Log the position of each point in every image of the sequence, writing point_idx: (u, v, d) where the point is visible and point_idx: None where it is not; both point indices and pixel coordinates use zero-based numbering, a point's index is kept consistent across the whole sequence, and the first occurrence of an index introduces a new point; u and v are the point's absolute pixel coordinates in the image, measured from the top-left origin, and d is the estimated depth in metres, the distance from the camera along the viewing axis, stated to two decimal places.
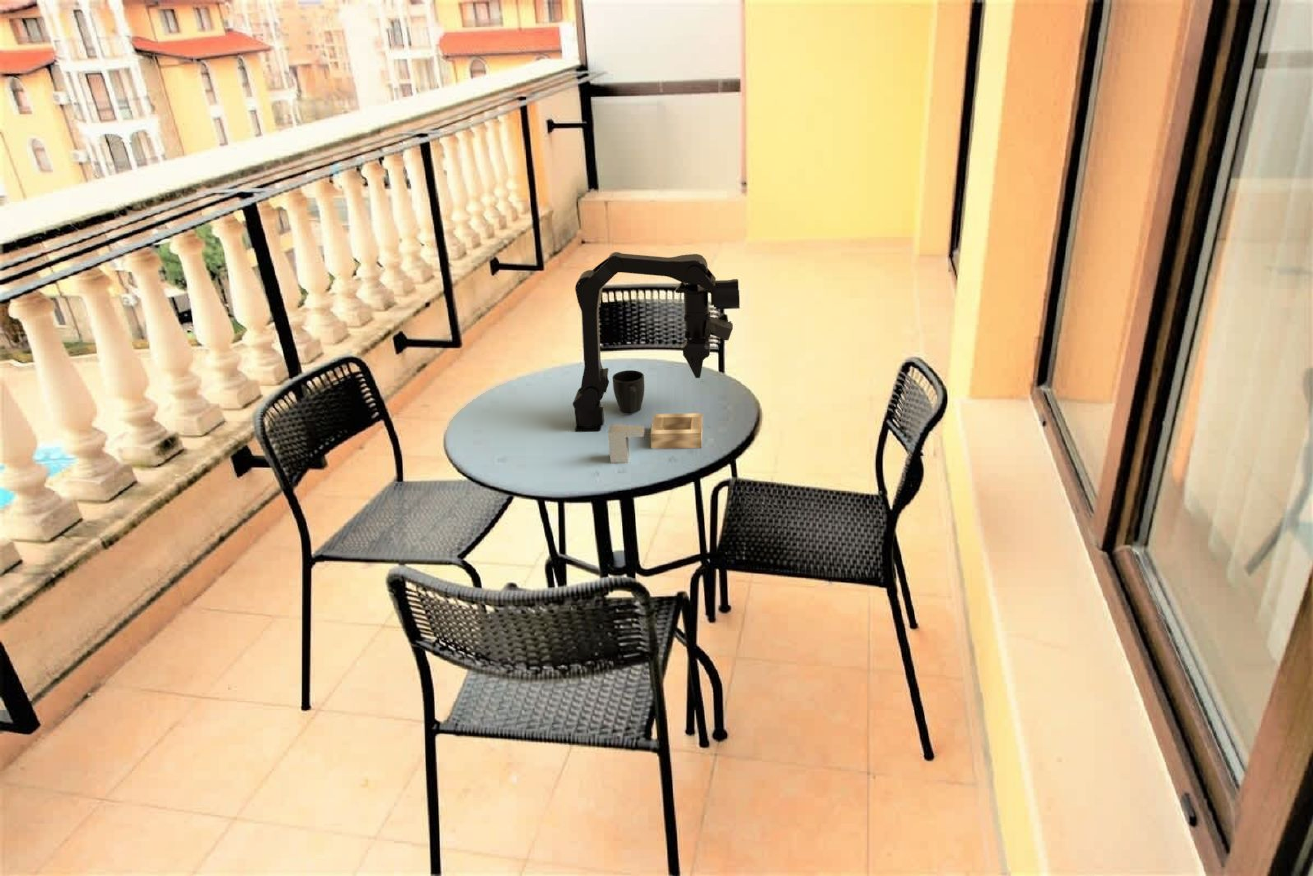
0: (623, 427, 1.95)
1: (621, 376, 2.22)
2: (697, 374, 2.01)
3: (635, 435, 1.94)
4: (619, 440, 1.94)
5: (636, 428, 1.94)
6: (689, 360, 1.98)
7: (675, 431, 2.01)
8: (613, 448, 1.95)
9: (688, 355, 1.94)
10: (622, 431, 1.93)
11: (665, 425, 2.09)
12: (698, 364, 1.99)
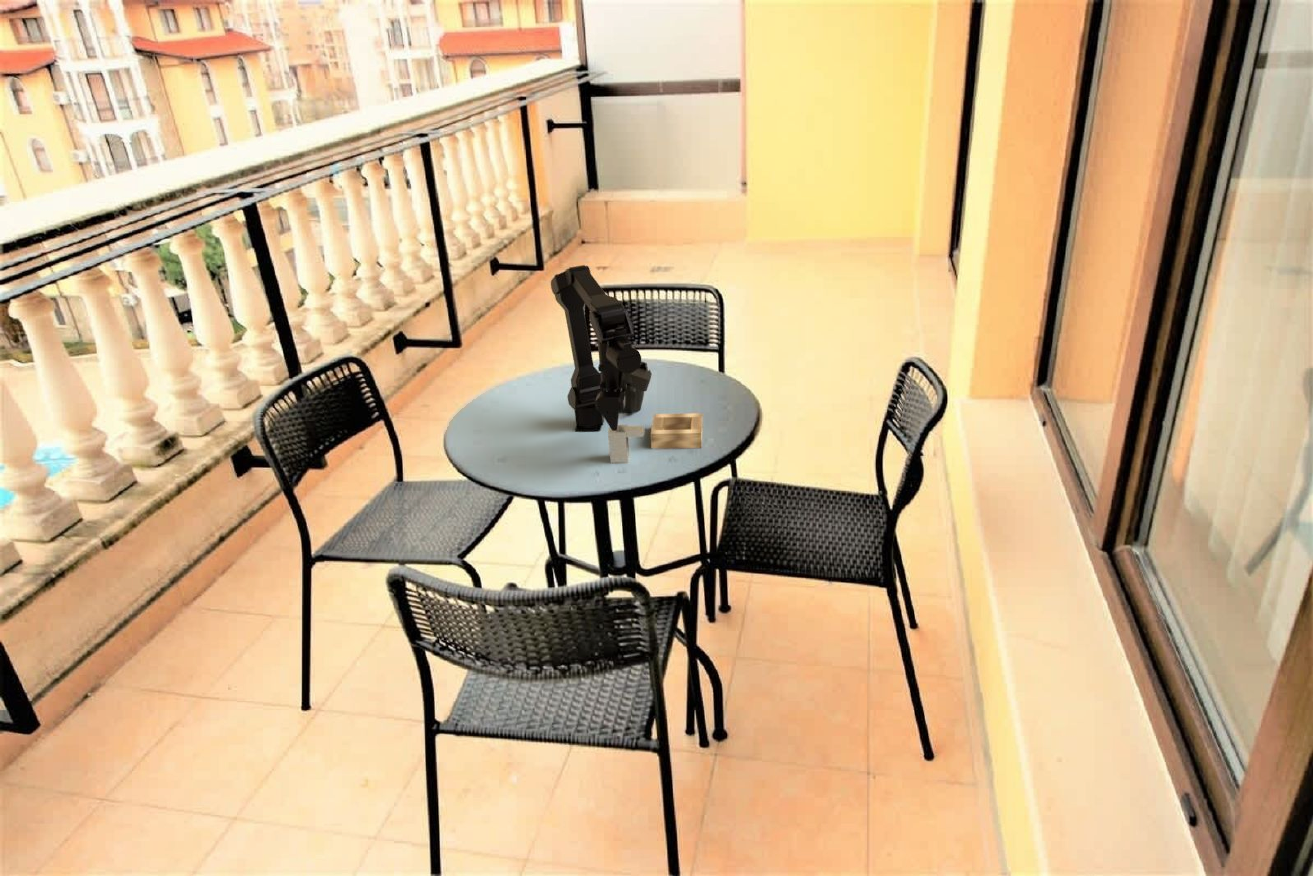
0: (623, 427, 1.95)
1: None
2: (613, 427, 1.89)
3: (635, 435, 1.94)
4: (619, 440, 1.94)
5: (636, 428, 1.94)
6: (604, 413, 1.86)
7: (675, 431, 2.01)
8: (613, 448, 1.95)
9: (601, 408, 1.82)
10: (622, 431, 1.93)
11: (665, 425, 2.09)
12: (614, 417, 1.87)
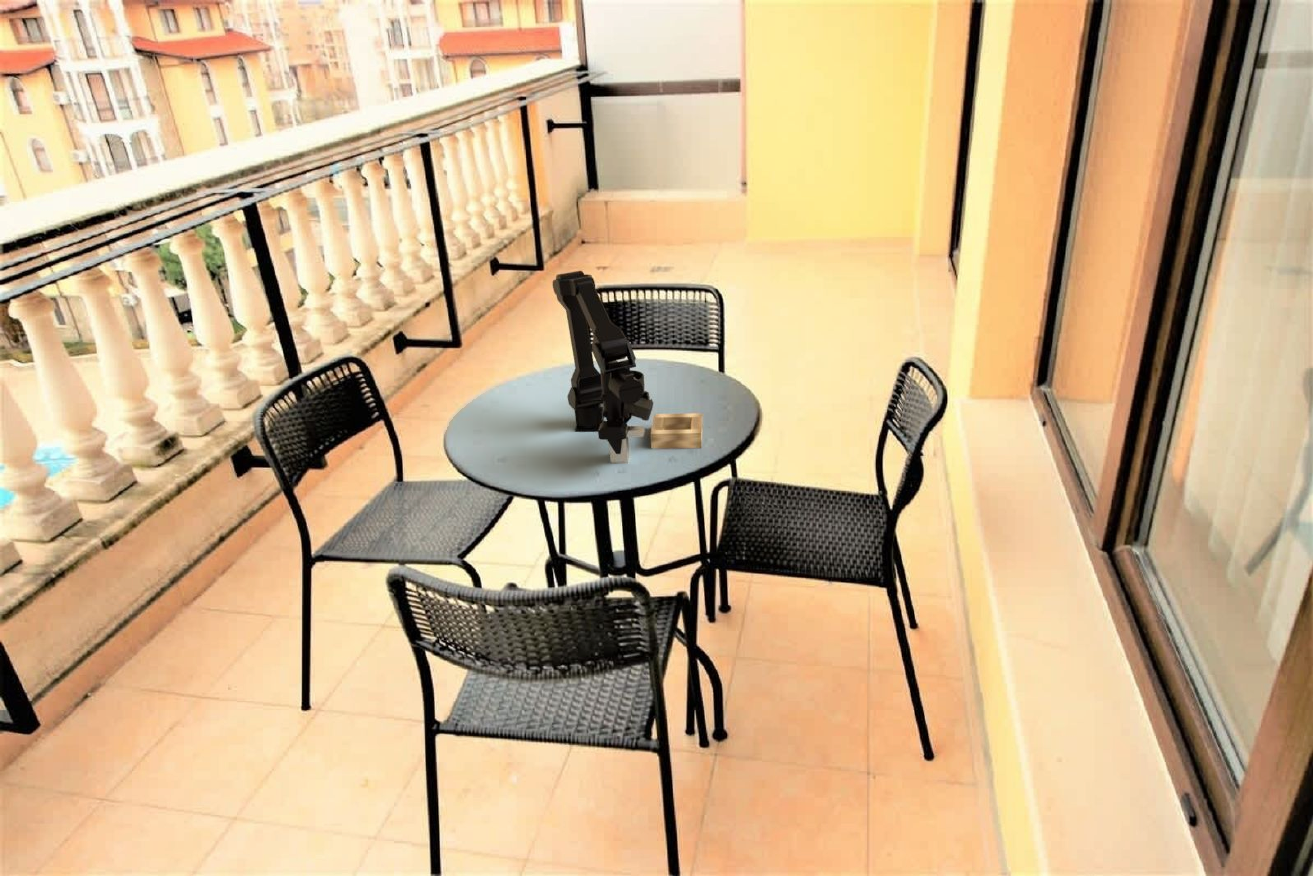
0: None
1: None
2: (617, 450, 1.94)
3: (635, 435, 1.94)
4: None
5: (636, 428, 1.94)
6: None
7: (675, 431, 2.01)
8: None
9: (604, 438, 1.85)
10: None
11: (665, 425, 2.09)
12: (617, 441, 1.92)
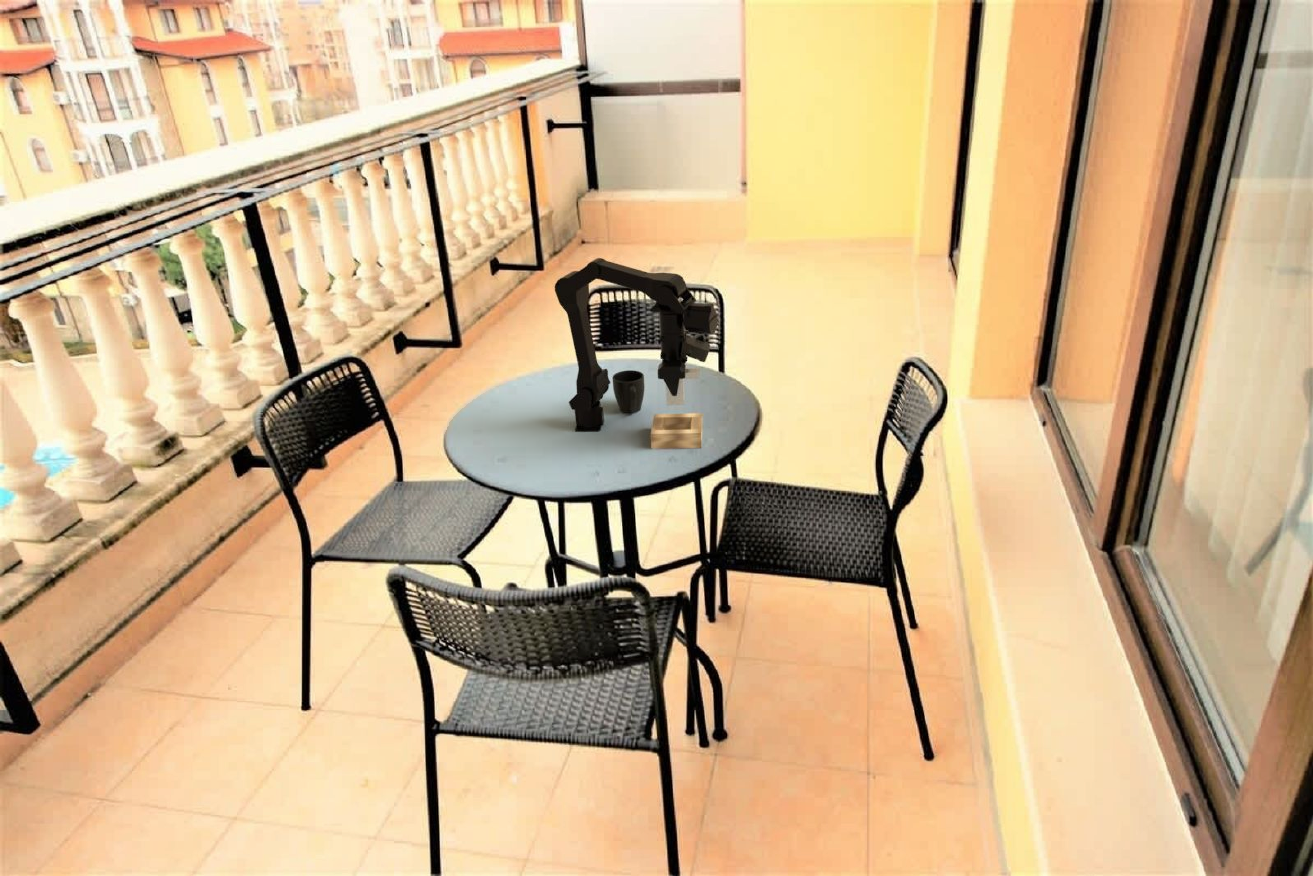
0: None
1: (621, 376, 2.22)
2: (674, 392, 1.98)
3: (692, 377, 1.97)
4: None
5: (693, 370, 1.98)
6: (665, 378, 1.95)
7: (675, 431, 2.01)
8: None
9: (663, 378, 1.89)
10: None
11: (665, 425, 2.09)
12: (674, 382, 1.96)
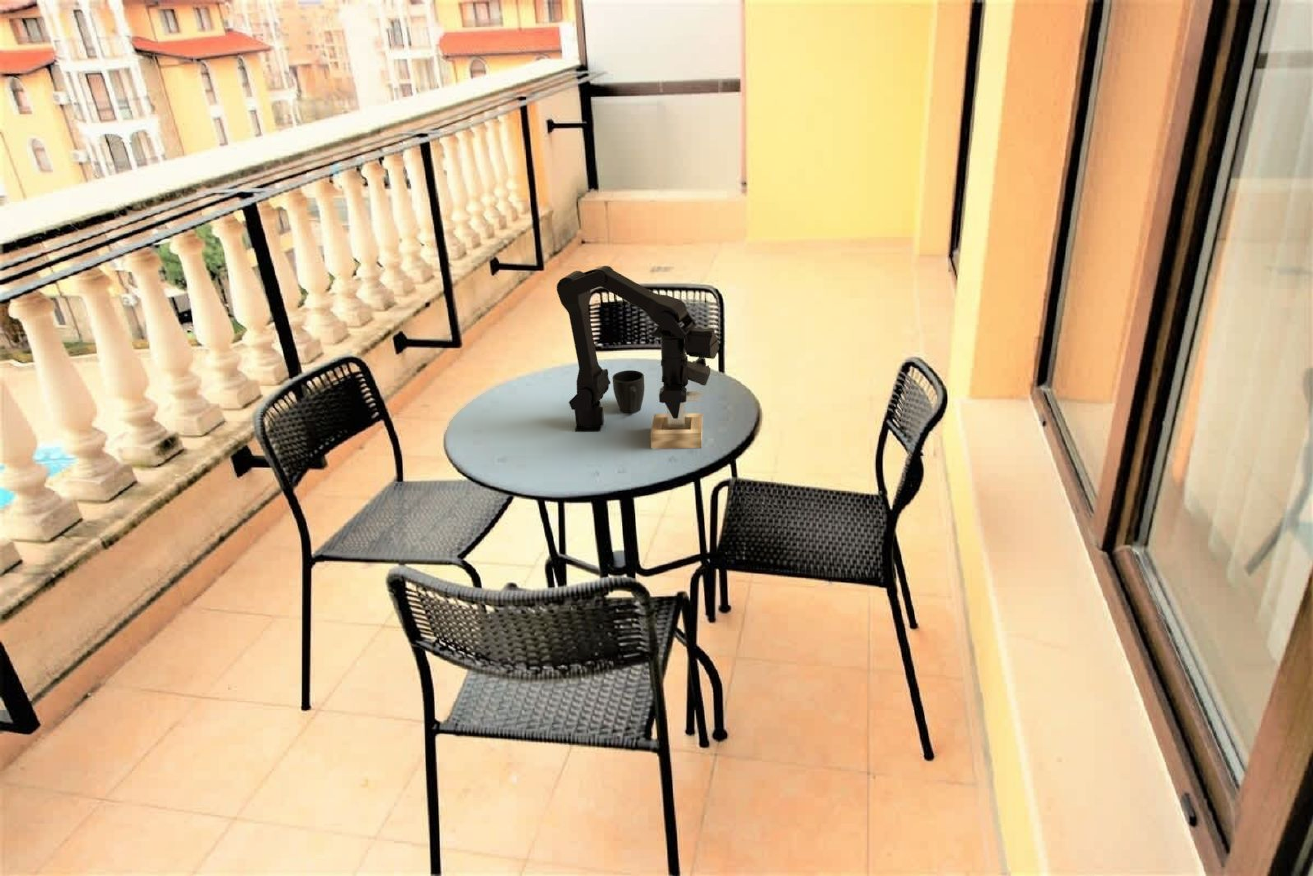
0: None
1: (621, 376, 2.22)
2: (675, 415, 2.01)
3: (693, 400, 2.00)
4: None
5: (694, 393, 2.01)
6: None
7: (675, 431, 2.01)
8: None
9: (664, 401, 1.92)
10: None
11: (665, 425, 2.09)
12: (676, 405, 1.99)
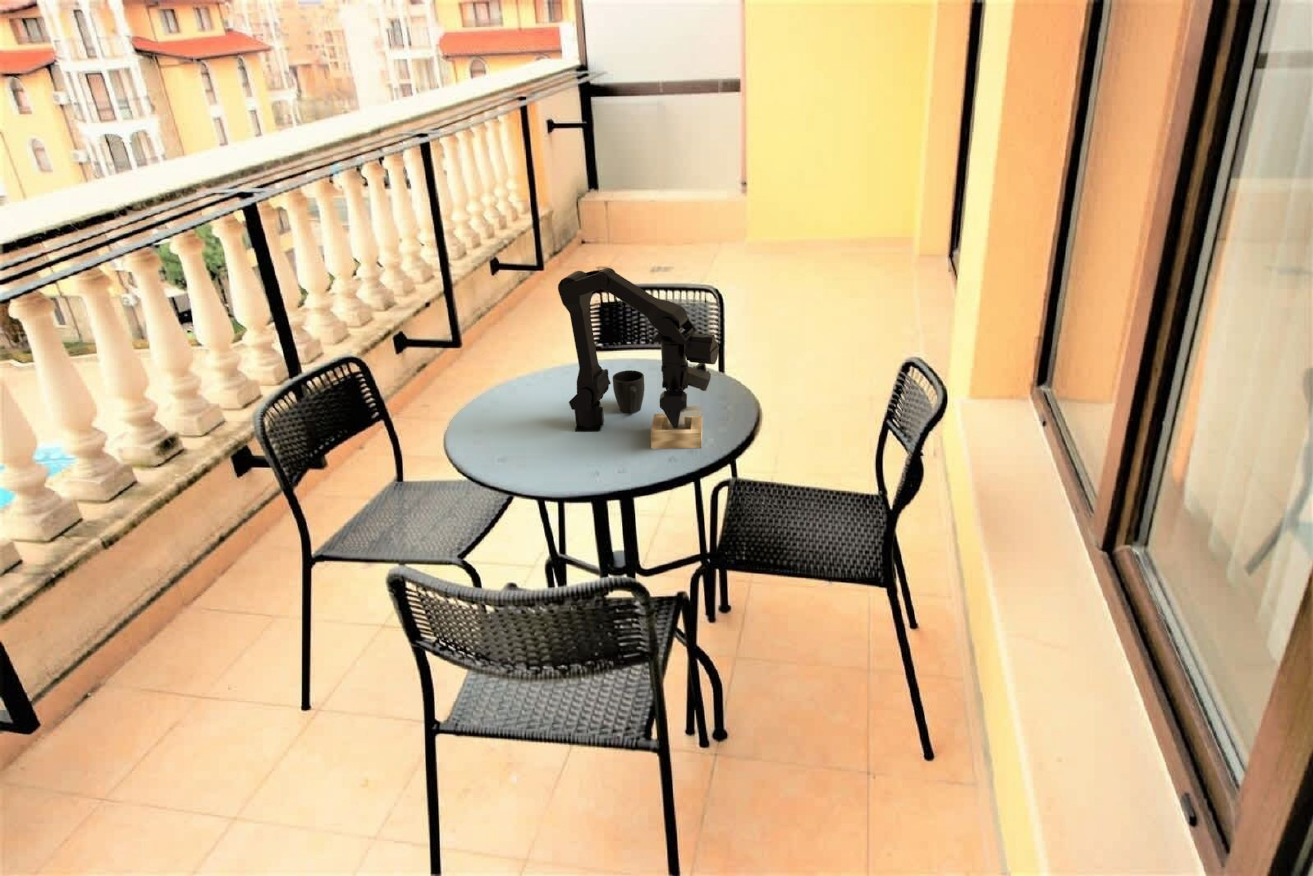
0: None
1: (621, 376, 2.22)
2: (675, 424, 1.99)
3: (693, 415, 2.02)
4: None
5: (694, 408, 2.02)
6: (666, 411, 1.96)
7: (675, 431, 2.01)
8: (672, 428, 2.03)
9: (665, 407, 1.92)
10: None
11: (665, 425, 2.09)
12: (675, 415, 1.97)
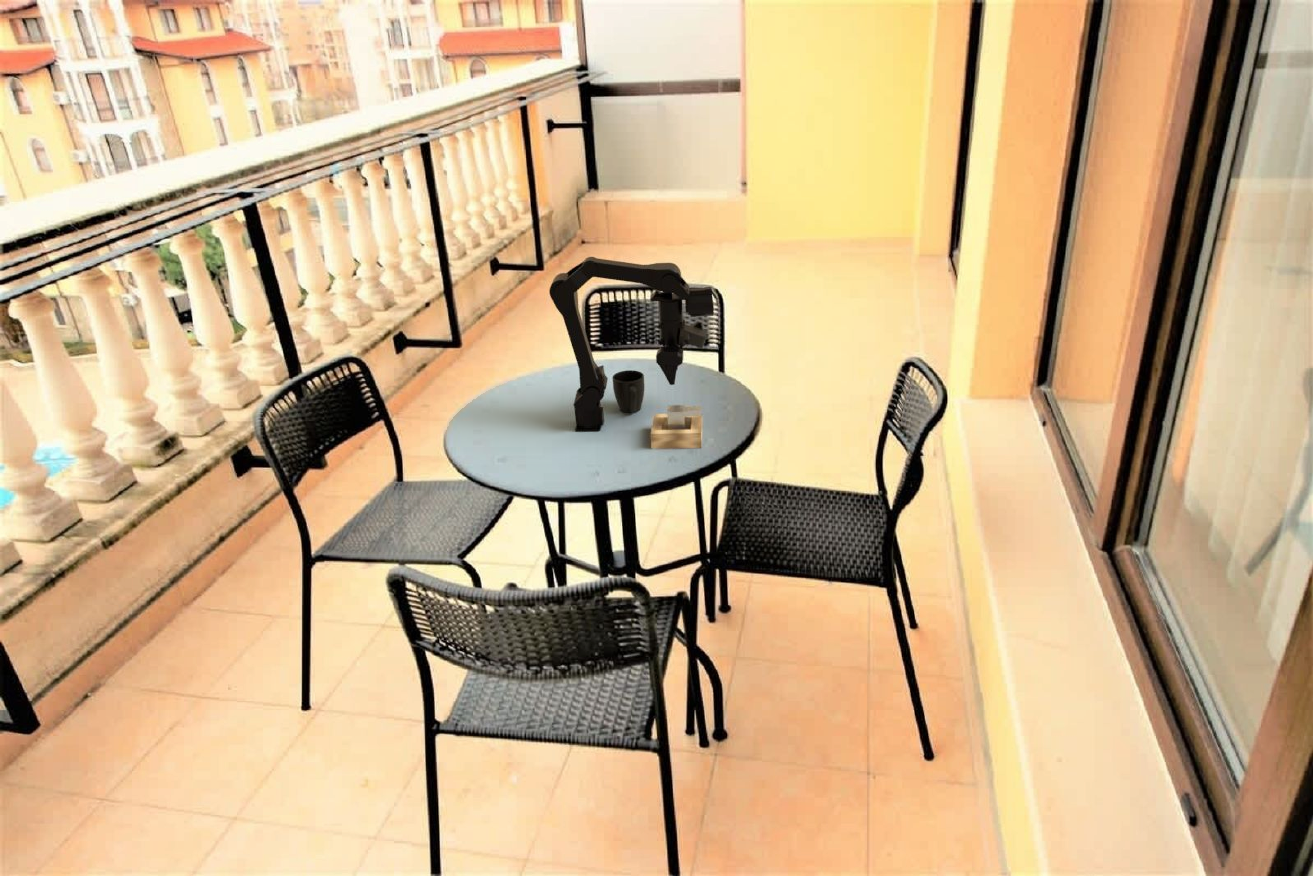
0: (681, 407, 2.03)
1: (621, 376, 2.22)
2: (671, 381, 2.04)
3: (693, 415, 2.02)
4: (678, 420, 2.02)
5: (694, 408, 2.02)
6: (663, 367, 2.01)
7: (675, 431, 2.01)
8: (672, 428, 2.03)
9: (661, 362, 1.97)
10: (681, 410, 2.01)
11: (665, 425, 2.09)
12: (672, 371, 2.02)
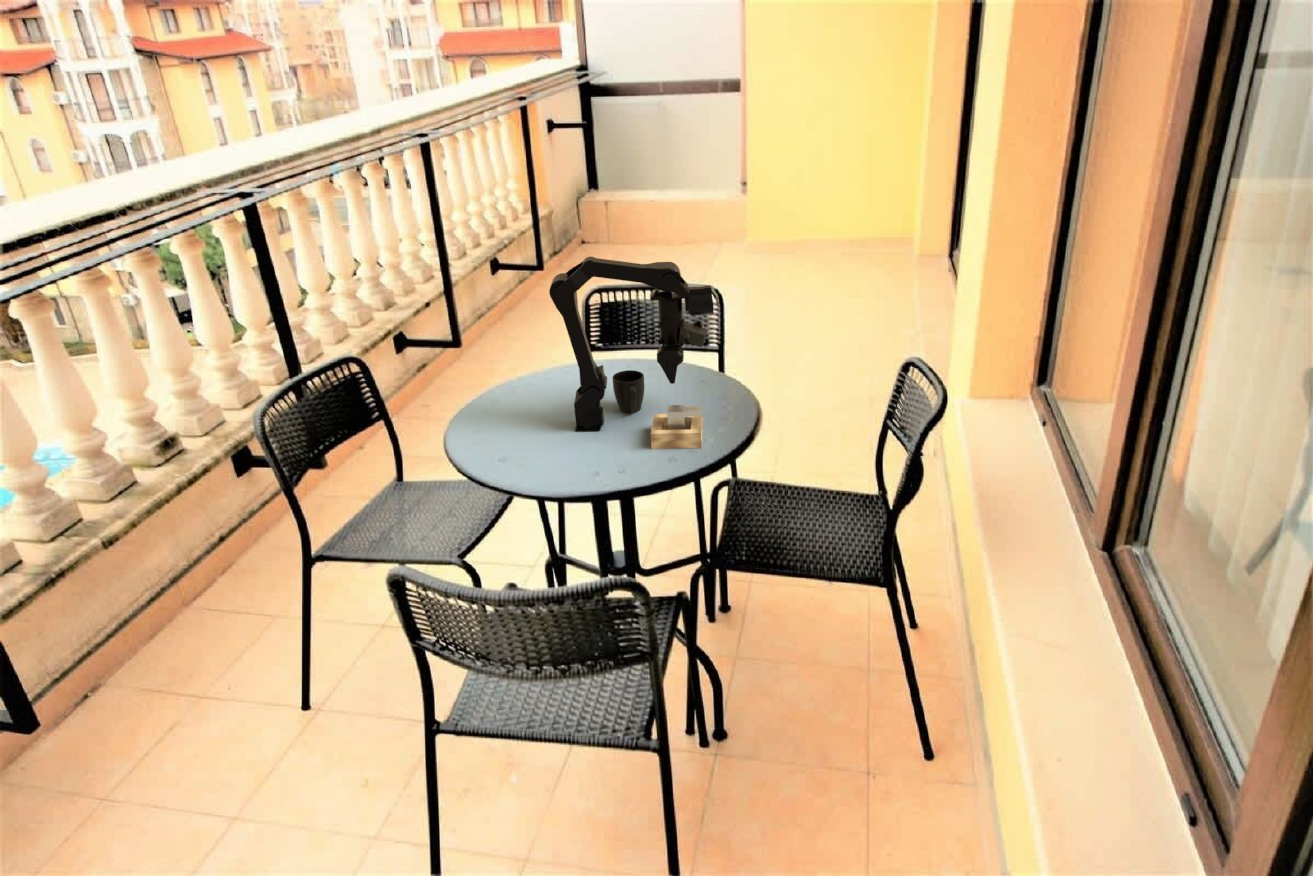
0: (681, 407, 2.03)
1: (621, 376, 2.22)
2: (672, 380, 2.04)
3: (693, 415, 2.02)
4: (678, 420, 2.02)
5: (694, 408, 2.02)
6: (663, 366, 2.01)
7: (675, 431, 2.01)
8: (672, 428, 2.03)
9: (662, 361, 1.98)
10: (681, 410, 2.01)
11: (665, 425, 2.09)
12: (672, 370, 2.02)
